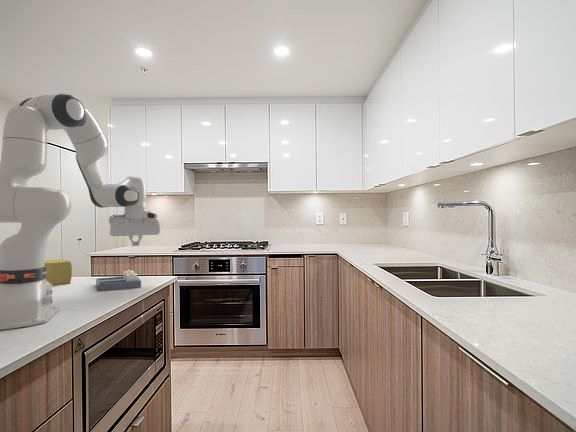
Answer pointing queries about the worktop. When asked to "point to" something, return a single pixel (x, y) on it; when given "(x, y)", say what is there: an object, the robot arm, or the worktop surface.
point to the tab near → (131, 277)
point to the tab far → (128, 273)
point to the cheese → (58, 271)
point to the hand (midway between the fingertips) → (135, 245)
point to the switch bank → (116, 283)
